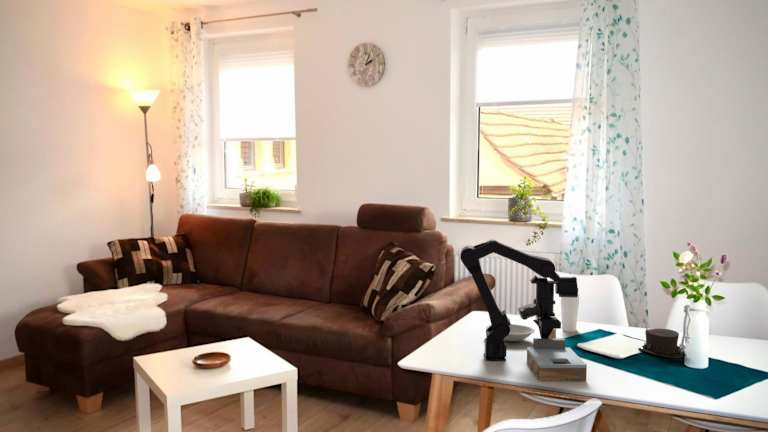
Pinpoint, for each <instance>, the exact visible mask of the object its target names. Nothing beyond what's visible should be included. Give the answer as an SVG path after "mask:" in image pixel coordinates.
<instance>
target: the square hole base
mask: <svg viewBox="0 0 768 432" xmlns="http://www.w3.org/2000/svg"><path fill="white" fill-rule="evenodd" d="M526 363H527V365H528V366H529V368H530V369H531V371H532V372H533V373H534V375H535V376H536V378H537V379H538V381H539V382H587V368H588V367H587V368H540V367H539V366H538V365H537V363H536V362H535V361H534V359H533V358H532V356H531V355H530V354H529V352H528V351H527V350H526ZM553 364H568V363H567V362H553Z"/></svg>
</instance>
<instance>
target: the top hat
mask: <svg viewBox="0 0 768 432" xmlns="http://www.w3.org/2000/svg"><path fill="white" fill-rule="evenodd" d="M647 324H648V323H645V325H646V326H645V328H646V329H645V330H644V331H645V332H644V333H645V342H644V344H643V345H641V346H642V347H643V349H641V348H640V349H639V351H642V352H646V353H649V354H651V355H652V354H653V355H656V356H661V357H664V358H672V359H680V358H683V357H684V356H683V353H682V352H681V349H680V347H681V346H679V345H678V341H679V337H680V334H679V332H678V331H676V330H673V329H670V328H650V329H649V328H648V325H647Z"/></svg>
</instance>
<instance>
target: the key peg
mask: <svg viewBox="0 0 768 432" xmlns="http://www.w3.org/2000/svg"><path fill="white" fill-rule="evenodd" d="M549 338H551V339H557V329H553V330H552V332H551V334H550V336H549Z"/></svg>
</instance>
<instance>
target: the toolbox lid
mask: <svg viewBox="0 0 768 432" xmlns="http://www.w3.org/2000/svg"><path fill="white" fill-rule="evenodd" d="M532 345H533V346H532V347H530V346H527V347H526V348H527V349H526V352H527V351H528V352H529V354H530V355H531V356H532V358H533V359H534V361H535V362H536V363H537V365H538V366H539V367H540V368H588V366H587V364H586V362H585V361H583V359H582V358H581V357H579V355H578V354H576V352H574V350H573V349H572V348H571V347H568V346H567V347H566V339H565V338H556V339H551V338H541V337H540V338H539V337H538V338H533V341H532ZM553 362H567V363H568V364H553Z"/></svg>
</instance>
